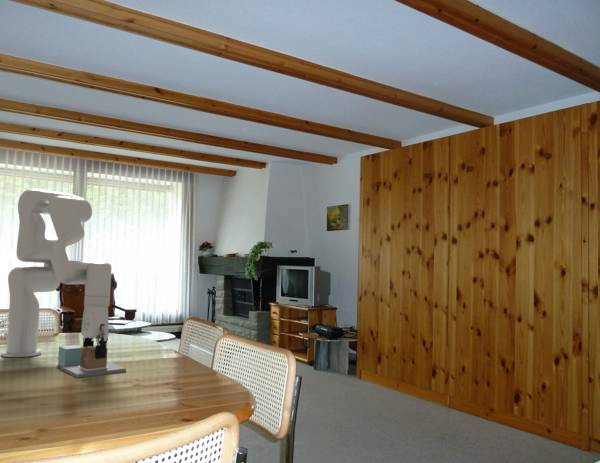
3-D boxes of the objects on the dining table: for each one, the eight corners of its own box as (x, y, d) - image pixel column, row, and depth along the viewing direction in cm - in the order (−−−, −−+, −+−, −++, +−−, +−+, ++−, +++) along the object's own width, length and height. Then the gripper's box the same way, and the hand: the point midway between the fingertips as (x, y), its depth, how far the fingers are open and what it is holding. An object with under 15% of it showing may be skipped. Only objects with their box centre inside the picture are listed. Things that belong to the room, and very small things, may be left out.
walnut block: (79, 366, 163) (80, 346, 163) (98, 364, 167) (99, 345, 167) (87, 369, 158) (88, 349, 159) (106, 367, 162) (107, 348, 163)
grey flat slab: (60, 369, 162) (60, 365, 162) (107, 364, 173) (107, 360, 173) (77, 377, 152) (77, 373, 152) (125, 371, 162) (126, 367, 163)
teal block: (58, 364, 169) (59, 346, 170) (76, 362, 173) (77, 344, 174) (64, 368, 165) (65, 349, 165) (83, 365, 169) (84, 347, 169)
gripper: (74, 299, 167) (71, 352, 166) (96, 304, 155) (93, 361, 154) (97, 298, 172) (94, 350, 171) (120, 303, 160) (117, 359, 159)
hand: (93, 355), depth 163 cm, fingers open, 9 cm apart
